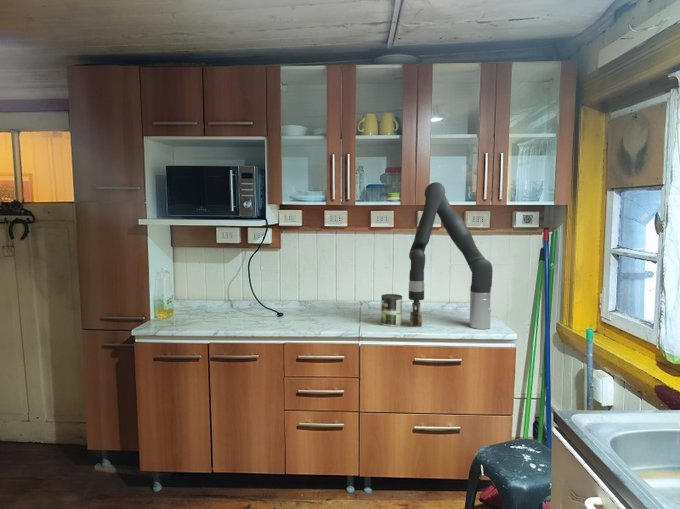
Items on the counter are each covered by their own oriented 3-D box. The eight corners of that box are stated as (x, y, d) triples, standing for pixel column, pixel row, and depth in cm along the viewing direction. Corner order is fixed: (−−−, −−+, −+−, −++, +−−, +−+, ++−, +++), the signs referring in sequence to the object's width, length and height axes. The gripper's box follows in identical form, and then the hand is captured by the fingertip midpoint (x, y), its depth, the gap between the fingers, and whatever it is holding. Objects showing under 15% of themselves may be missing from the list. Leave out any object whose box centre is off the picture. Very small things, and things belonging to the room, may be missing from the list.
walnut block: (421, 324, 209) (422, 312, 209) (421, 327, 204) (421, 314, 203) (410, 323, 210) (410, 311, 210) (409, 326, 205) (410, 314, 204)
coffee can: (386, 327, 203) (386, 298, 202) (377, 322, 213) (377, 294, 212) (405, 325, 206) (406, 297, 205) (396, 320, 216) (396, 293, 215)
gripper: (424, 292, 198) (423, 327, 199) (424, 287, 212) (424, 320, 213) (407, 291, 199) (407, 326, 201) (409, 287, 213) (409, 319, 215)
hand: (415, 323), depth 207 cm, fingers open, 5 cm apart
